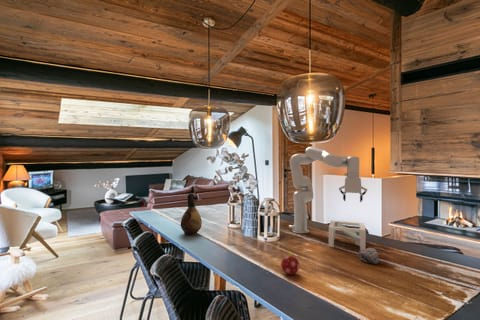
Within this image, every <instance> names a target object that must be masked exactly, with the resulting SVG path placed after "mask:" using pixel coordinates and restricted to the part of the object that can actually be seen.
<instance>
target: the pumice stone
mask: <svg viewBox="0 0 480 320" xmlns="http://www.w3.org/2000/svg"><path fill="white" fill-rule="evenodd" d="M358 258H359V260H360V261H361V262H363V263H366V264H370V265H371V264H372V265H378V264H379V262H380V261H379V253H378V251H377V249H376V248H373V247H367V248H366V249H364V250H359V252H358Z"/></svg>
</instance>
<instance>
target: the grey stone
mask: <svg viewBox="0 0 480 320" xmlns="http://www.w3.org/2000/svg"><path fill="white" fill-rule="evenodd" d="M354 240H355V241H354V245H355V246H358V247H360V236H359V234H357V239H354Z"/></svg>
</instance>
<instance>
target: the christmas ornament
mask: <svg viewBox="0 0 480 320" xmlns="http://www.w3.org/2000/svg"><path fill="white" fill-rule="evenodd" d="M280 263H281V270H282V271H283V272H284V273H285V274H287V275H292V276H293V275H296V273H297V272H298V271H299V269H300V262H299V260H298V258H296V257H295V256H294V255H293V254H292V253H291V252H290V253H288V255H286V256H285V257H283V258H282V260H281V262H280Z"/></svg>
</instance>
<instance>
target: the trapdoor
mask: <svg viewBox="0 0 480 320" xmlns="http://www.w3.org/2000/svg"><path fill="white" fill-rule="evenodd" d="M335 227H346V225H343V224H340V223H338V222H336V224H335ZM346 228H348V227H346ZM341 232H342V233H344V234H345V235H347V236H348V237H350V238H352V239H353V240H356V239H357V235H358V232H351V231H341Z"/></svg>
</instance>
